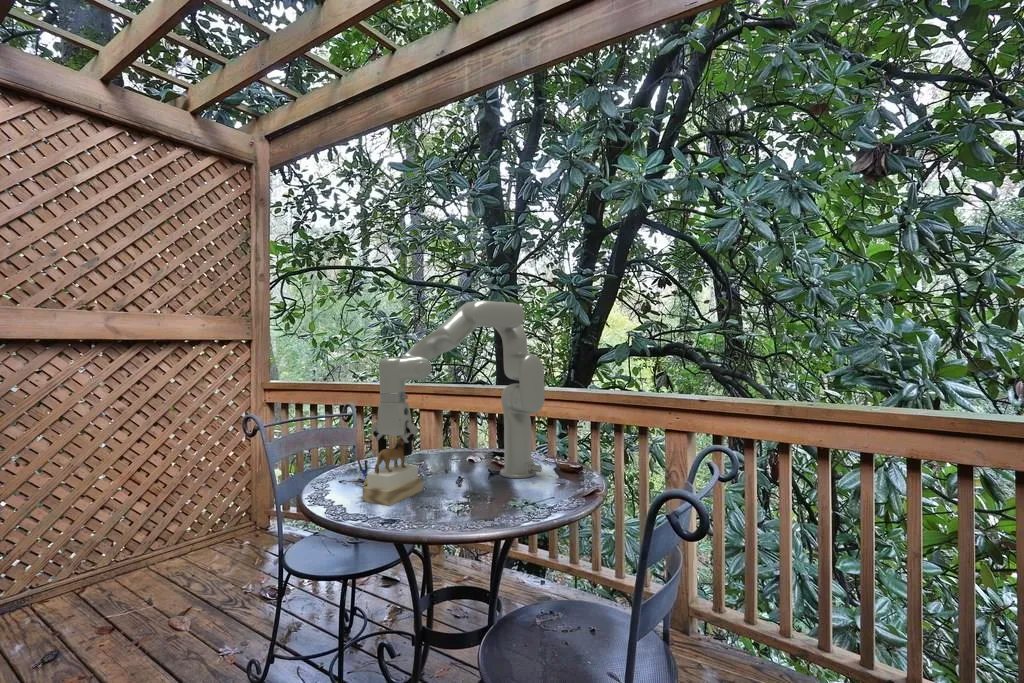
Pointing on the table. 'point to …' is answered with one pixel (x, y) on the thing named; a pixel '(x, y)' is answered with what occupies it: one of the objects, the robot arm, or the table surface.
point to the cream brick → (392, 477)
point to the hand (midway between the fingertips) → (395, 454)
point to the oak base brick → (392, 493)
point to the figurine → (362, 472)
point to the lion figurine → (391, 456)
